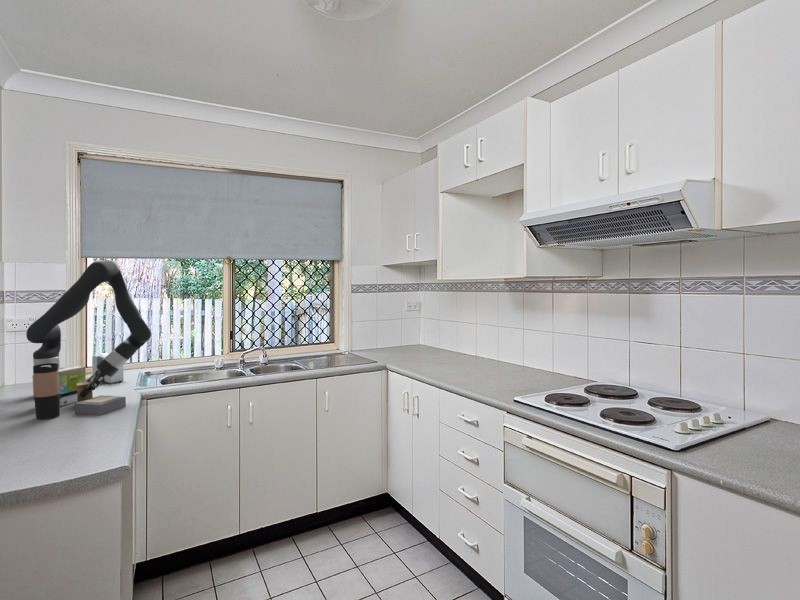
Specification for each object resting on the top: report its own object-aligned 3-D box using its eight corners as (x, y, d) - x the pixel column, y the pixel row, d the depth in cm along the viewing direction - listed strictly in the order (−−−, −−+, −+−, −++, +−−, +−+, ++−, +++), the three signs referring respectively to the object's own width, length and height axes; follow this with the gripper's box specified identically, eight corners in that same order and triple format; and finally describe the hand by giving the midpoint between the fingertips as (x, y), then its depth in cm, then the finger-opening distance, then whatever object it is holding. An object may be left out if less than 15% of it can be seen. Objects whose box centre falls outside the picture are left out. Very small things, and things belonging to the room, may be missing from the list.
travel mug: (39, 415, 173) (37, 364, 172) (63, 413, 176) (61, 362, 175) (31, 421, 166) (29, 367, 165) (56, 418, 169) (54, 366, 168)
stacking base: (75, 413, 175) (74, 402, 175) (101, 404, 187) (100, 394, 187) (100, 415, 173) (100, 404, 173) (125, 406, 184) (125, 396, 184)
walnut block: (78, 407, 184) (77, 385, 183) (77, 404, 188) (76, 383, 187) (92, 404, 187) (92, 383, 187) (92, 402, 191) (91, 381, 190)
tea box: (54, 409, 182) (52, 373, 181) (34, 407, 184) (32, 372, 183) (87, 399, 196) (85, 365, 196) (68, 398, 198) (66, 365, 198)
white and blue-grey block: (92, 379, 235) (90, 341, 234) (109, 376, 242) (108, 339, 241) (108, 384, 223) (106, 344, 222) (126, 381, 229) (124, 342, 228)
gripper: (103, 355, 197) (71, 385, 190) (106, 360, 185) (73, 392, 179) (117, 366, 200) (87, 396, 194) (121, 371, 189) (89, 403, 182)
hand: (80, 394), depth 186 cm, fingers open, 7 cm apart
